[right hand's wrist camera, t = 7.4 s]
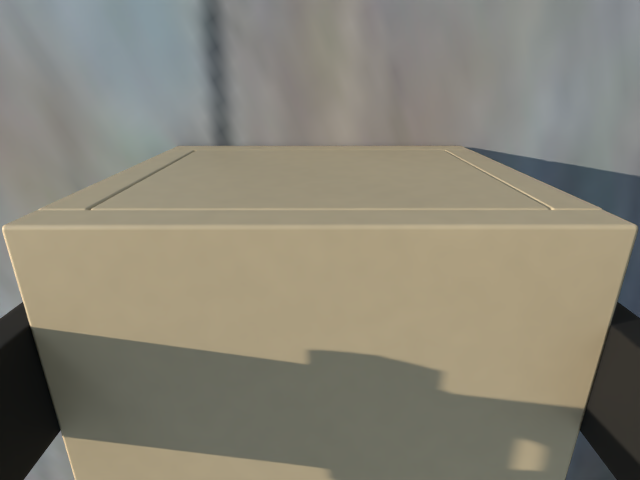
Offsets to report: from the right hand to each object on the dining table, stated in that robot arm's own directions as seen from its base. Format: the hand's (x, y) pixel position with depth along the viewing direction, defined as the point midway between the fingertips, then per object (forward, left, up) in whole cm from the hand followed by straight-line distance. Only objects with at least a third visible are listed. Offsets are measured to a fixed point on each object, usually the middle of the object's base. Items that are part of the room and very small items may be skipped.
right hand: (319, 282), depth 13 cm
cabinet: (+3, +6, -5) cm, 9 cm away
